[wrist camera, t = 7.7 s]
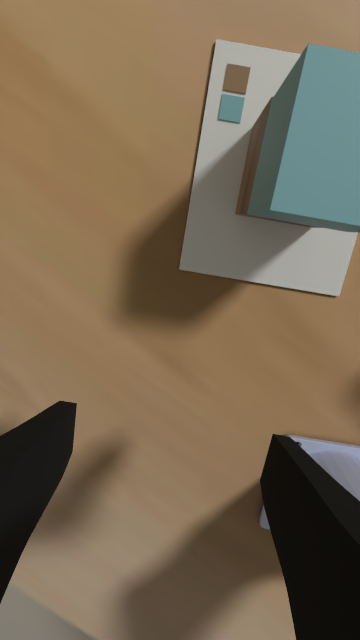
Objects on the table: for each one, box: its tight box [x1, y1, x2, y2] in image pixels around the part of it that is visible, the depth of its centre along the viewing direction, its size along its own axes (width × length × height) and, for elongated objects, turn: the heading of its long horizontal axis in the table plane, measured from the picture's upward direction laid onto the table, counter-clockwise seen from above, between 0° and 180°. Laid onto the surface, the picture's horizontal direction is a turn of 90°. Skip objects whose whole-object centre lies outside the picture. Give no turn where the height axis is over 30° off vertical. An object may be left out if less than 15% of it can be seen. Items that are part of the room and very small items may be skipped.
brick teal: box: [247, 43, 360, 232], centre depth 13 cm, size 5×5×5 cm
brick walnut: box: [235, 97, 321, 228], centre depth 17 cm, size 5×5×5 cm
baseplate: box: [179, 39, 358, 296], centre depth 19 cm, size 10×12×1 cm
